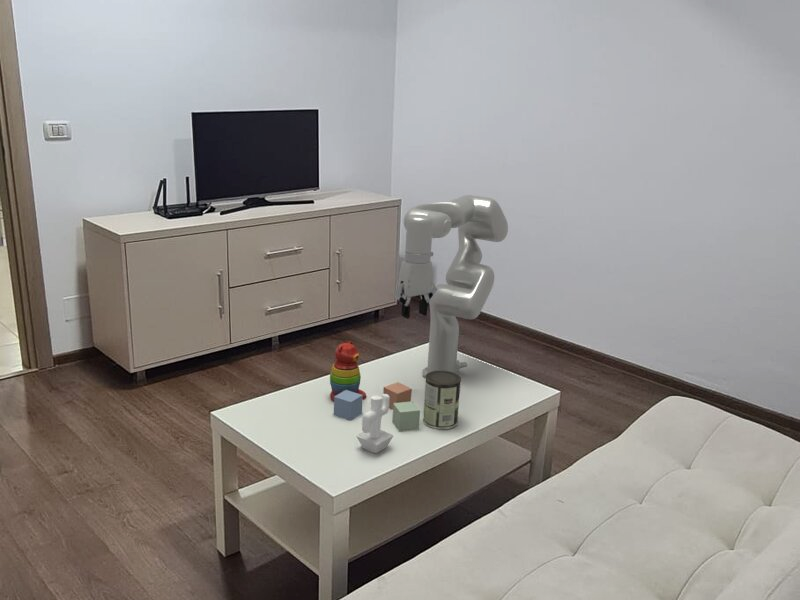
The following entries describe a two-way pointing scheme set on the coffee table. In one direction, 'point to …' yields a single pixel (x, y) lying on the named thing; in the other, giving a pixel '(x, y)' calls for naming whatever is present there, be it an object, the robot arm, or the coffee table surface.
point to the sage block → (406, 416)
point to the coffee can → (441, 399)
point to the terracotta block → (397, 393)
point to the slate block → (348, 405)
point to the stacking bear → (345, 371)
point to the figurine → (375, 425)
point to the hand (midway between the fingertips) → (414, 315)
